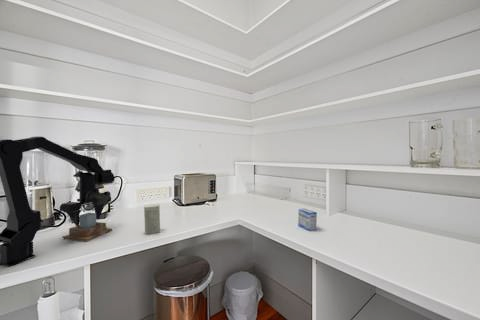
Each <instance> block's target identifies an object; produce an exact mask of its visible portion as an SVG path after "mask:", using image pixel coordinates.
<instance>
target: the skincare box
mask: <svg viewBox="0 0 480 320" xmlns="http://www.w3.org/2000/svg"><path fill="white" fill-rule="evenodd" d="M143 209H144V211H143V212H144V235H149V234H157V233H160V232H161V219H160V217H161V215H160V214H161V213H160V211H161V210H160V204H159V203H156V204H145V205H144V207H143Z"/></svg>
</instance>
